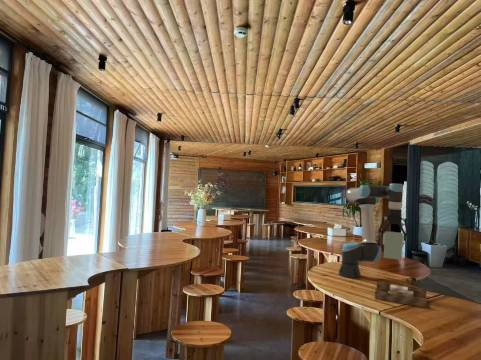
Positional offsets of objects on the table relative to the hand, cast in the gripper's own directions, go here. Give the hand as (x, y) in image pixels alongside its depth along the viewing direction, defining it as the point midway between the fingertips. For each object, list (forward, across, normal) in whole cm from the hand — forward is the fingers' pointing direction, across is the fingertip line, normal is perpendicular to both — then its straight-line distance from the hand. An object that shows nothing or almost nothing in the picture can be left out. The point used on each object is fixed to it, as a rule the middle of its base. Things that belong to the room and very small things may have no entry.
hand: (393, 245), depth 209 cm
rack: (+29, +6, -12) cm, 32 cm away
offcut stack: (+27, +6, -15) cm, 31 cm away
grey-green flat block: (+8, 0, 0) cm, 8 cm away
